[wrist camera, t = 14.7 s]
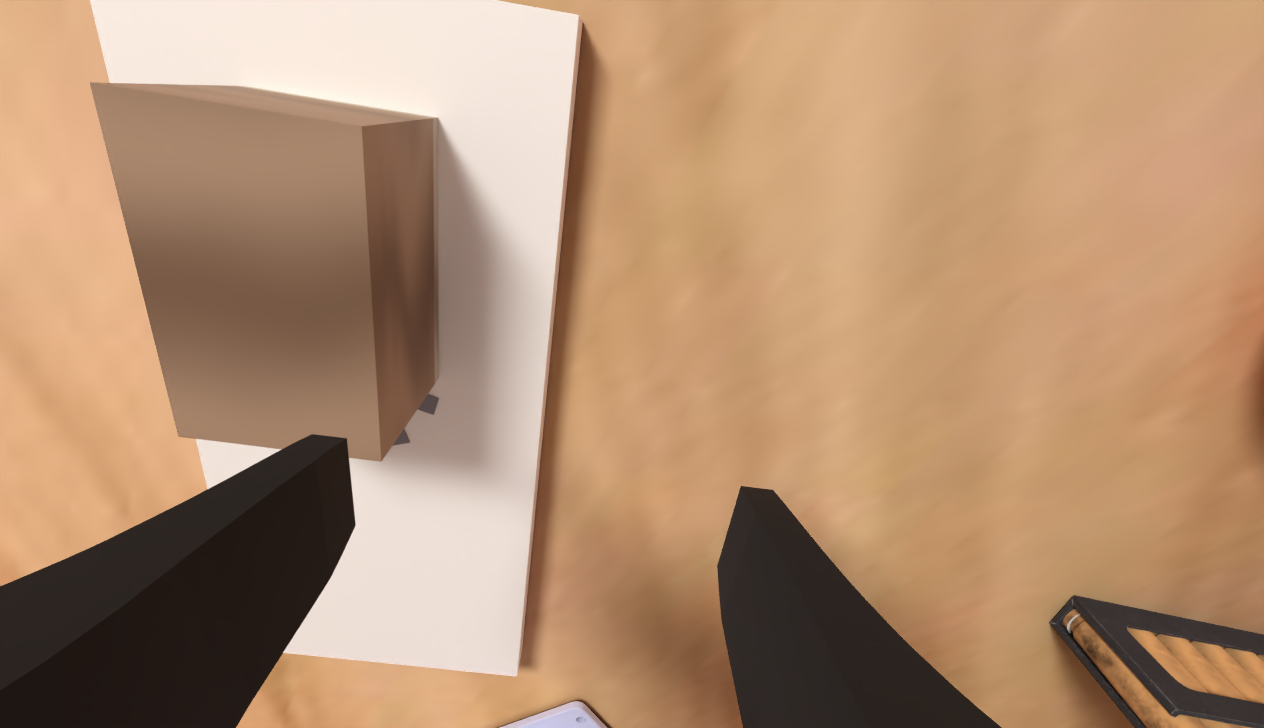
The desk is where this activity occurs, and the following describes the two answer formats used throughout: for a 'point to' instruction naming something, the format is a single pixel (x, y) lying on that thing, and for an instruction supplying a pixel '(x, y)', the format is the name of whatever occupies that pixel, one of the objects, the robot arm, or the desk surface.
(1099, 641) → the ammunition clip
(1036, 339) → the desk surface
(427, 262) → the block
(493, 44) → the plank
